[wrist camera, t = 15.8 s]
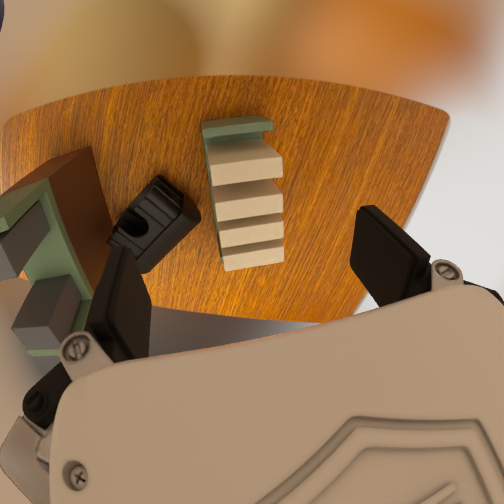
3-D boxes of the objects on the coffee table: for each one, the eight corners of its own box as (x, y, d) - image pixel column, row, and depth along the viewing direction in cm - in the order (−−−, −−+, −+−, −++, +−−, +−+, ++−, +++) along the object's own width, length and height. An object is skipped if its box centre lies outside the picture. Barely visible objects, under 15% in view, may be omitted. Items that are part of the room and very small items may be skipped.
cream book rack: (200, 121, 30) (202, 135, 22) (259, 114, 31) (283, 126, 23) (217, 236, 39) (224, 282, 31) (266, 229, 40) (286, 272, 32)
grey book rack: (47, 160, 28) (-48, 240, 12) (90, 146, 29) (0, 220, 12) (77, 249, 36) (29, 359, 19) (118, 241, 37) (81, 359, 20)
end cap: (153, 252, 39) (148, 283, 33) (114, 223, 35) (102, 250, 29) (201, 205, 36) (203, 230, 31) (161, 169, 33) (154, 188, 27)
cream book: (206, 145, 31) (209, 165, 24) (261, 138, 32) (282, 156, 24) (208, 161, 32) (212, 186, 25) (262, 153, 33) (283, 177, 26)
